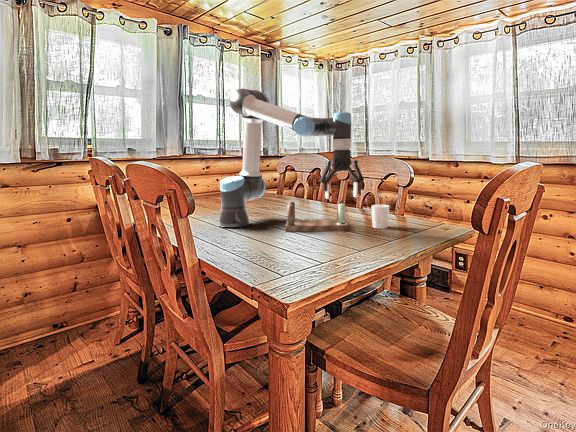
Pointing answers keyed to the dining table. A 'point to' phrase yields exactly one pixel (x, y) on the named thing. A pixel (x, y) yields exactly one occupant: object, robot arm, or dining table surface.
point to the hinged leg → (341, 213)
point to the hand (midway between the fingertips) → (341, 197)
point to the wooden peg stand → (312, 222)
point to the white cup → (380, 216)
